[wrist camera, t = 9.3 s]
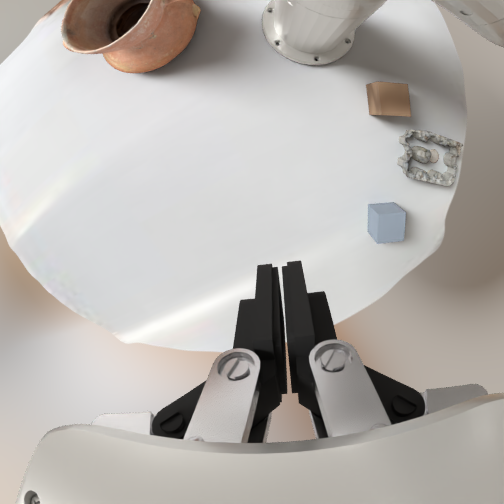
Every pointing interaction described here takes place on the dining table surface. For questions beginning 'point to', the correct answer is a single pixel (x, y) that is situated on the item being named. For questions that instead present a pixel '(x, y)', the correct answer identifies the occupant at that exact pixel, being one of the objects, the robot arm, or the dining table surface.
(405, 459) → the robot arm
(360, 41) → the dining table surface
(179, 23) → the ceramic jug
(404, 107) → the walnut block
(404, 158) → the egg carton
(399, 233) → the slate-blue block
